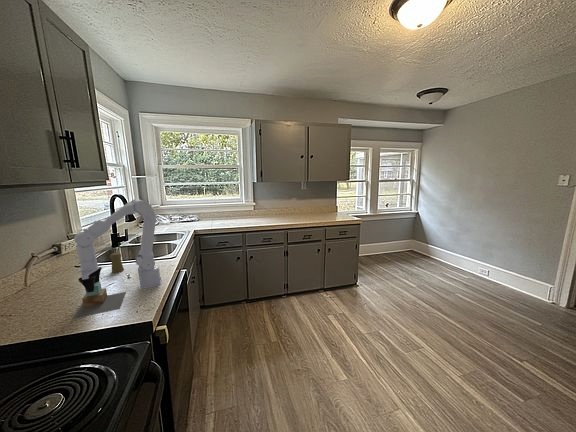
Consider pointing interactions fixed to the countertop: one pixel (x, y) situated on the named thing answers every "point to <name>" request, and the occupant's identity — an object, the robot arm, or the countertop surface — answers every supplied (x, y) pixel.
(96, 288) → the teal block
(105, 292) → the walnut block
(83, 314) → the mat
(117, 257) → the cork
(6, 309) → the countertop surface
